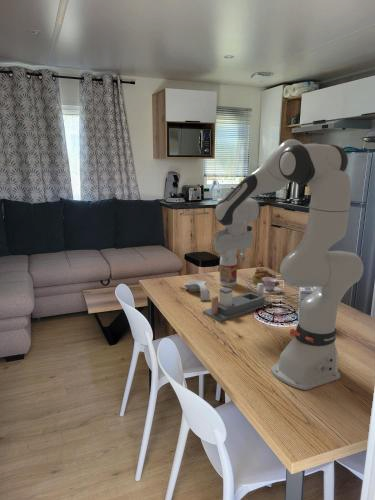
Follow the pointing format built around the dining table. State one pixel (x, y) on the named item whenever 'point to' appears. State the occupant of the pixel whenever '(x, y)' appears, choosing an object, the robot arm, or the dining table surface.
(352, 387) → the dining table surface
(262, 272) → the pastry
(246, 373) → the dining table surface
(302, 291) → the syrup box
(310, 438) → the dining table surface
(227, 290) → the white cylinder
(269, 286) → the teacup
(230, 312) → the socket board
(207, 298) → the handheld barcode scanner
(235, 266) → the fruit juice
